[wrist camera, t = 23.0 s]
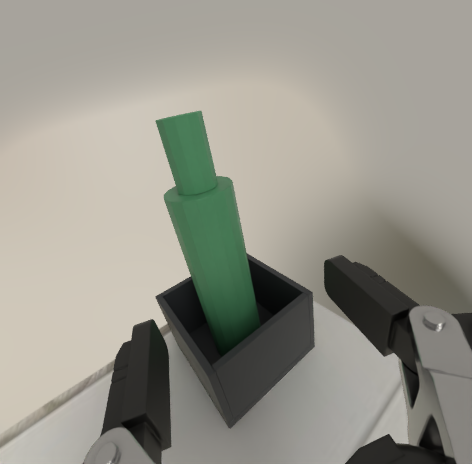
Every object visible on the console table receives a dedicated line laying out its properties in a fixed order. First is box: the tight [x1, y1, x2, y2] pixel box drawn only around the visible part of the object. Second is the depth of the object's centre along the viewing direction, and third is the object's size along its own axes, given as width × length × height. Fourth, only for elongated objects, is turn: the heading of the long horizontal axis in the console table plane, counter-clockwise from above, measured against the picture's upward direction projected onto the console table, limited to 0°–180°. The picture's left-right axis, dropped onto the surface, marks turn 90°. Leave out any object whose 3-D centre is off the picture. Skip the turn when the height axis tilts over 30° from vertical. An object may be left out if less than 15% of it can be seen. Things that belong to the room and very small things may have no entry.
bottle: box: [156, 111, 261, 357], centre depth 21 cm, size 5×5×23 cm
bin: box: [156, 253, 314, 428], centre depth 25 cm, size 11×11×8 cm
